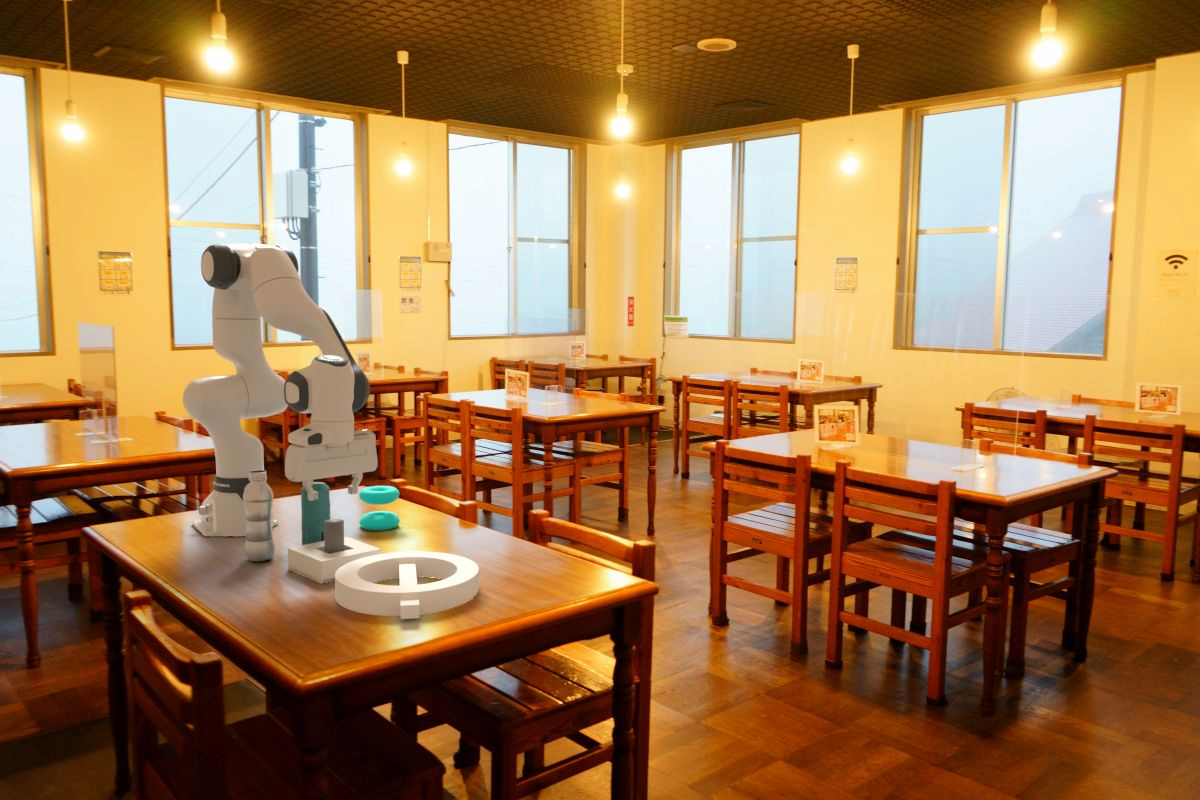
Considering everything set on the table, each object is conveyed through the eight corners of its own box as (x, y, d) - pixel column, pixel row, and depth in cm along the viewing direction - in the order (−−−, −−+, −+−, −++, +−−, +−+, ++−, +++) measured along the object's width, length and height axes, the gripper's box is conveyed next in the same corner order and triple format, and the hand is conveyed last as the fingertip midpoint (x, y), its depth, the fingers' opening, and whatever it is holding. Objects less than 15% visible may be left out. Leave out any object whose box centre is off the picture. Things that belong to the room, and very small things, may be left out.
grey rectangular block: (321, 566, 196) (320, 520, 195) (338, 562, 198) (337, 517, 197) (331, 570, 193) (330, 524, 192) (347, 566, 196) (347, 521, 195)
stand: (288, 569, 196) (287, 548, 195) (346, 557, 206) (346, 536, 205) (322, 584, 186) (321, 561, 185) (381, 570, 196) (380, 548, 196)
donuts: (406, 489, 232) (371, 494, 226) (406, 527, 233) (371, 533, 227) (387, 483, 240) (352, 487, 233) (387, 520, 241) (352, 526, 234)
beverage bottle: (322, 560, 203) (321, 472, 201) (295, 558, 204) (293, 470, 202) (337, 552, 209) (335, 466, 207) (310, 550, 211) (309, 465, 209)
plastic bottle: (246, 566, 198) (243, 475, 196) (242, 558, 204) (240, 469, 202) (277, 562, 201) (275, 473, 199) (272, 554, 207) (271, 467, 205)
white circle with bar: (410, 628, 163) (410, 602, 163) (304, 599, 178) (304, 575, 177) (506, 588, 187) (506, 565, 186) (406, 565, 201) (406, 544, 201)
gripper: (367, 426, 202) (367, 487, 204) (280, 435, 188) (281, 501, 189) (383, 430, 198) (383, 492, 200) (295, 439, 183) (296, 506, 185)
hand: (333, 496), depth 194 cm, fingers open, 8 cm apart
